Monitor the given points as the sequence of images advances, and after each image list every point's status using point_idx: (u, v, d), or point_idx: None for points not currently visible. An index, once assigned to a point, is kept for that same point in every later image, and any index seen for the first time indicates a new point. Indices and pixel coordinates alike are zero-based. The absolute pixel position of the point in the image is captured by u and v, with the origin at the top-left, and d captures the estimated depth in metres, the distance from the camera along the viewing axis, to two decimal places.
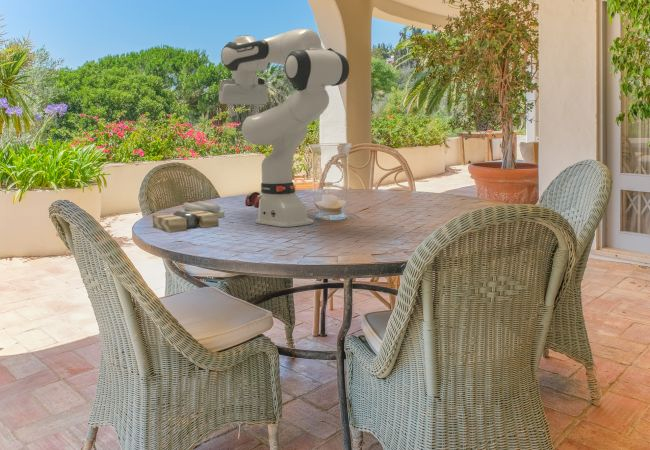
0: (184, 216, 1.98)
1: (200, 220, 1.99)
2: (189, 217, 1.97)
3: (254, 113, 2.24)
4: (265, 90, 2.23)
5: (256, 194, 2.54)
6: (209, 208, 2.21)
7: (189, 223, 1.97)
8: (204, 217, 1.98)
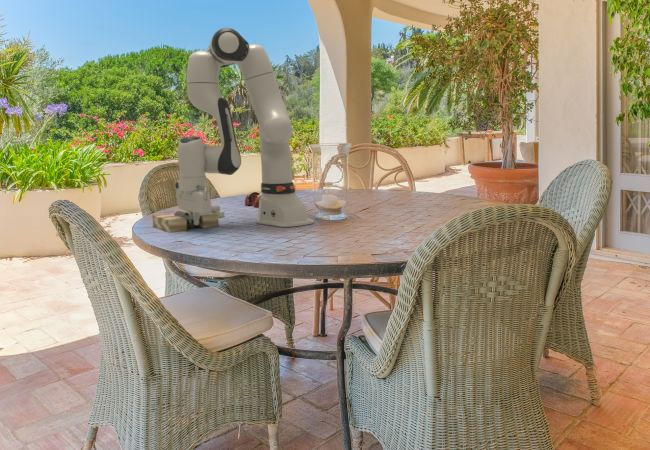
0: (186, 215, 1.99)
1: (200, 220, 1.99)
2: None
3: None
4: None
5: (256, 194, 2.54)
6: None
7: (190, 222, 1.97)
8: (204, 217, 1.98)
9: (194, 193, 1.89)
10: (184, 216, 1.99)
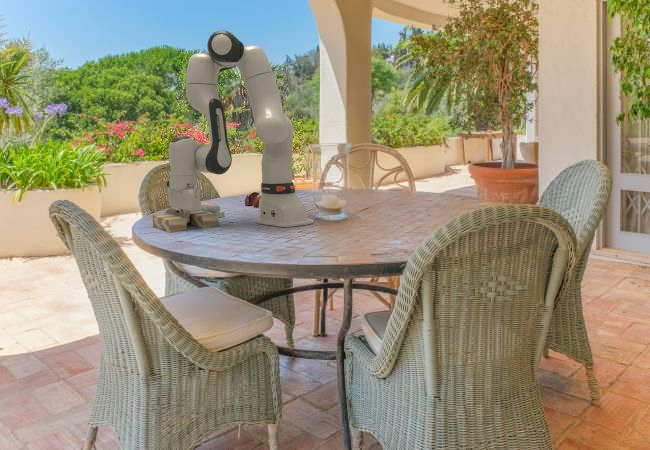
0: (177, 212, 2.05)
1: (200, 220, 1.99)
2: None
3: None
4: None
5: (256, 194, 2.54)
6: (209, 208, 2.21)
7: None
8: (204, 217, 1.98)
9: (184, 191, 1.95)
10: (175, 213, 2.05)
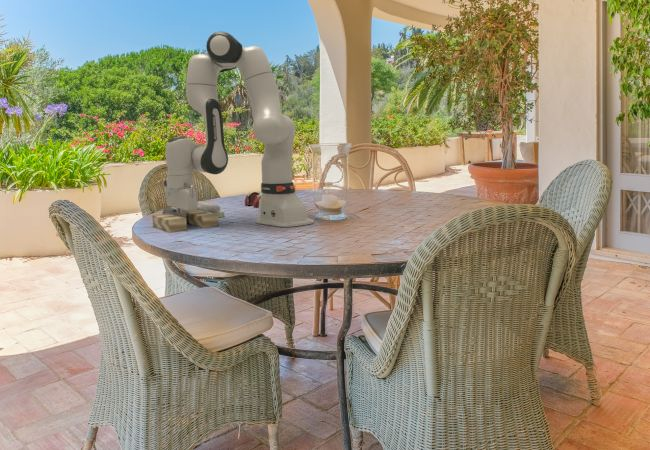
0: (174, 211, 2.07)
1: (200, 220, 1.99)
2: None
3: None
4: None
5: (255, 194, 2.54)
6: (209, 208, 2.21)
7: None
8: (204, 217, 1.98)
9: (181, 190, 1.98)
10: (172, 212, 2.08)
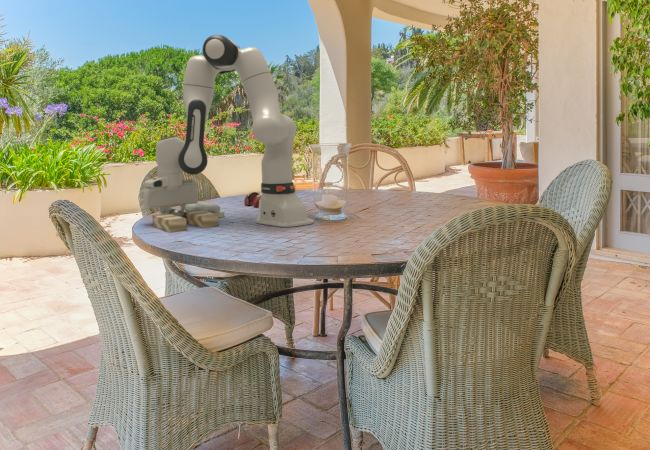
0: (172, 212, 2.07)
1: (200, 220, 1.99)
2: (177, 213, 2.05)
3: None
4: None
5: (255, 194, 2.54)
6: (209, 208, 2.21)
7: None
8: (204, 217, 1.98)
9: (184, 186, 2.12)
10: None
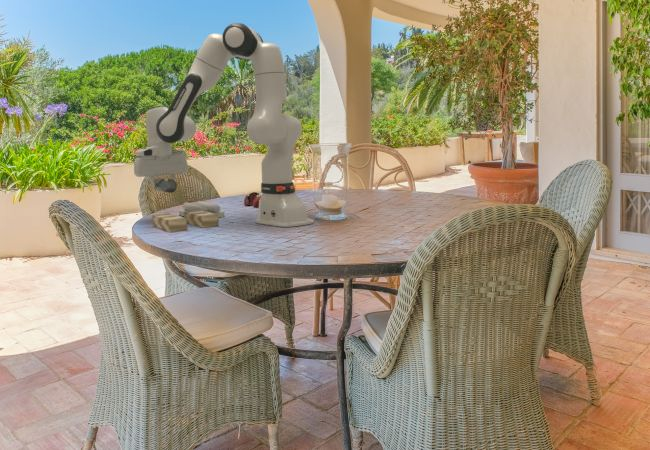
0: (163, 181, 2.11)
1: (200, 220, 1.99)
2: (167, 181, 2.09)
3: None
4: None
5: (255, 194, 2.53)
6: (209, 208, 2.21)
7: (167, 187, 2.10)
8: (204, 217, 1.98)
9: (174, 156, 2.16)
10: (161, 182, 2.11)
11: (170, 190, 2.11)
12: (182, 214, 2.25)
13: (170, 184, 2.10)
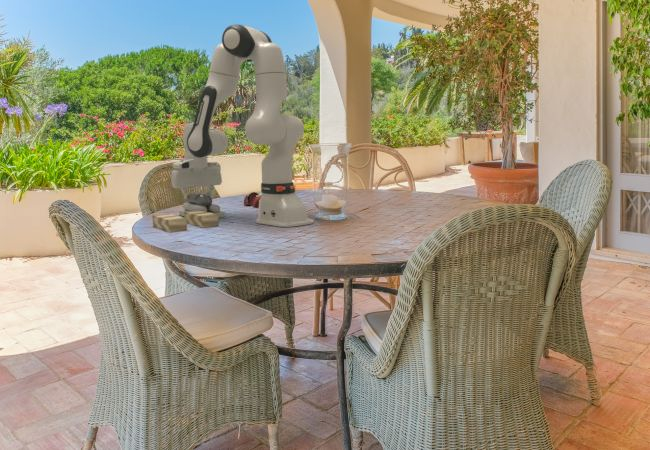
0: (198, 197, 2.20)
1: (200, 220, 1.99)
2: (203, 197, 2.19)
3: None
4: None
5: (255, 194, 2.53)
6: (209, 208, 2.21)
7: (203, 203, 2.19)
8: (204, 217, 1.98)
9: (209, 168, 2.25)
10: (197, 198, 2.21)
11: (206, 205, 2.20)
12: (182, 214, 2.25)
13: (206, 200, 2.19)
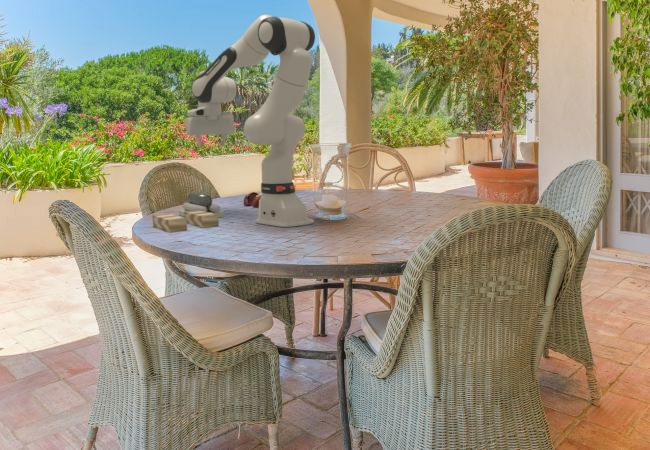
0: (198, 197, 2.20)
1: (200, 220, 1.99)
2: (203, 197, 2.19)
3: None
4: None
5: (254, 194, 2.53)
6: (209, 208, 2.21)
7: (203, 202, 2.19)
8: (204, 217, 1.98)
9: (223, 117, 2.29)
10: (197, 198, 2.21)
11: (206, 205, 2.20)
12: (182, 214, 2.25)
13: (206, 200, 2.19)
